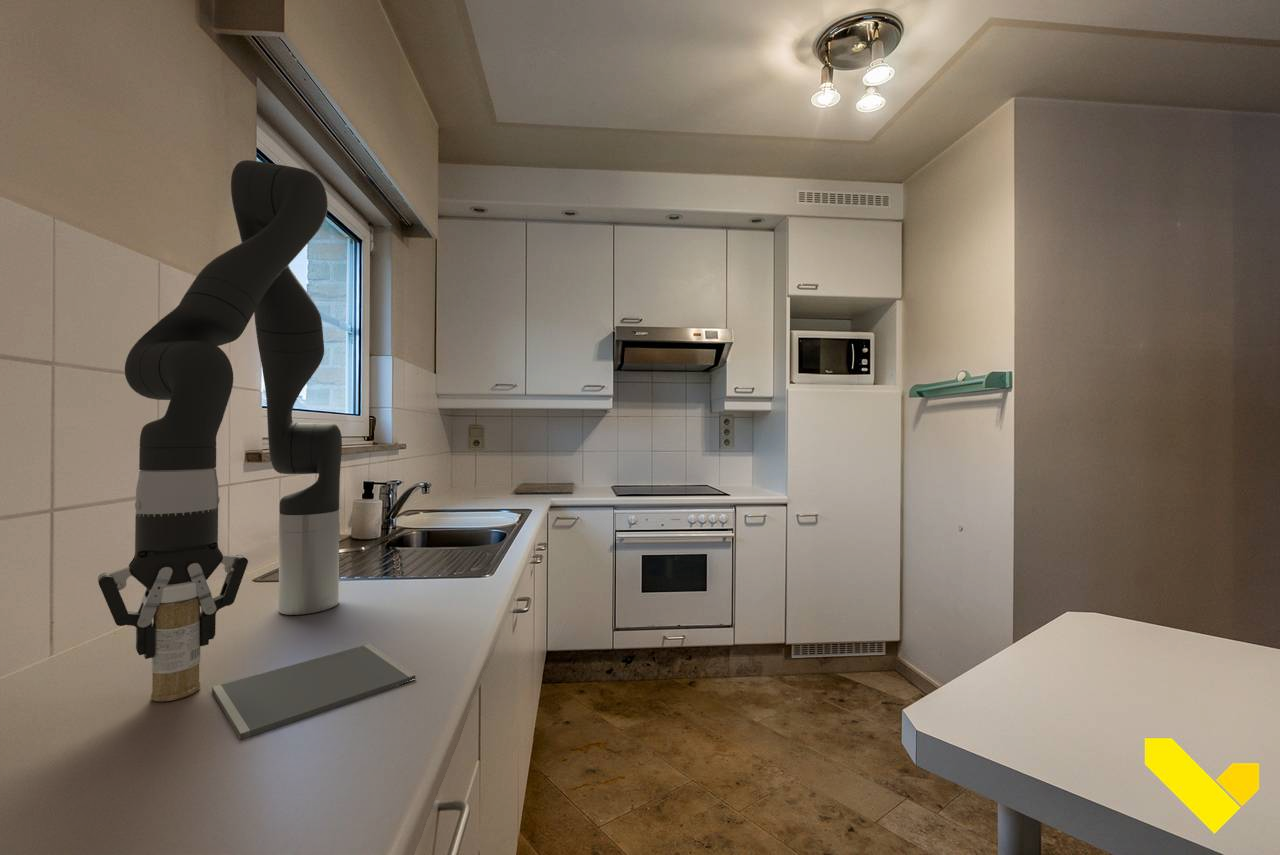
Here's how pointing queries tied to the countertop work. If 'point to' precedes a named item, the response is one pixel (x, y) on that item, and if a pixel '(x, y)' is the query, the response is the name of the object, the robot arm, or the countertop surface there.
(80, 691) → the countertop surface
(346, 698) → the mat
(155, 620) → the sprinkles bottle
